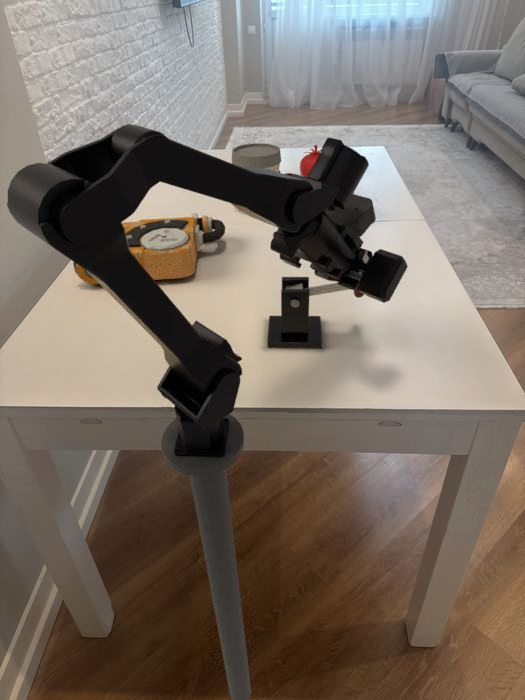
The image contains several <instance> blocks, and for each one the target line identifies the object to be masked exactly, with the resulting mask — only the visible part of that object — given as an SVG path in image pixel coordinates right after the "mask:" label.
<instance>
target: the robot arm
mask: <svg viewBox="0 0 525 700" xmlns="http://www.w3.org/2000/svg"><path fill="white" fill-rule="evenodd" d="M320 150H321V151H320V154H319V156H318V158H317V160H316V161H315V163H314V165H313V167H312V169H311V170H310V172H309V174H308V176H307V177H304V176H303V175H300V174H296V173H291V172H287V173H282V172H280V173H279V172H275V171H272V170H268V169H262V168H254V167H239V166H237V165H234V164H232V162H229V161H226V160H224V159H221V158H220V157H219V158H218V157H216V156H213V155H211V154H209V153H206V152H204V151H201V150H198V149H197V148H196V149H195V148H194V147H191V146H188V145H185V144H183V143H180V142H178V141H175V140H173V139H171V138H169V137H167V136H166V135H165V134H164V133H162V132H160V131H158V130H154V129H153V128H149V127H148V128H147V127H145V126H142V125H138V124H131V123H128V124H124V125H121V126H120V127H117V128H116V129H114V130H112V132H110V133H108V134H106V135H105V136H104V137H102V138H100V139H97V140H94V141H92V142H89V143H86V144H84V145H81V146H79V147H76V148H73V149H70V150H67V151H65V152H63V153H61V154H60V155H58V156H56V157H55V158H53V159H51V160H50V161H48V162H47V163H43V162H37V163H31V164H28V165H26V166H25V167H23V168H22V169H20V170H18V171H17V172H16V174H14V176H13V178H12V179H11V180H10V183H9V185H8V188H7V203H6V207H7V209H8V211H9V214H10V215H11V216H12V217H13V219H14V220H15V221H16V223H18V224H19V225H20V226H21V227H23V228H24V229H26V230H27V231H29V232H30V233H31V234H32V235H34V236H35V237H37V238H38V239H40V240H41V241H42V242H44V243H46V244H47V245H49V246H50V247H51V248H53V249H54V250H56V251H57V252H59V253H60V254H62V255H63V256H64V257H66V258H67V259H69V260H70V261H72V263H73V262H75V263H76V264H78V265H79V266H81V267H82V268H84V269H85V270H87V271H88V272H89V273H90V275H91V276H92V277H93V278H94V279H95V280H96V281H97V282H98V283H99V284H100V285H99V286H101V287H102V288H103V289H104V290H105V291H106V292H107V293H108V294H109V295H110V296H111V297H112V298H113V299H114V300H115V301H116V302H117V303H118V304H119V305H120V306H121V307H122V308H123V309H124V310H125V311H126V312H127V314H129V315H130V316H131V317H132V318H133V319H134V320H135V322H137V324H138V325H140V327H141V328H142V329H144V331H146V333H147V334H149V336H150V337H151V338H152V339H153V340H154V341H155V342H156V343H157V344H158V345H159V346H160V347H161V348H162V350H163V355H164V360H165V361H166V363H167V365H168V366H167V367H168V368H167V369H166V371H165V373H164V374H163V376H162V378H161V379H160V381H159V383H158V385H157V387H156V389H157V391H158V392H159V393H160V394H161V396H162V397H163V398H165V399H166V400H168V401H169V402H170V403H171V404H173V406H174V412H175V416H176V417H175V419H176V418H177V423H178V428H179V432H178V436H177V440H176V444H175V448H174V455H175V456H195V457H223V456H224V455H225V449H226V442H227V436H228V429H229V419H228V418H224V417H226V416H227V415H229V414H230V415H231V414H232V413H233V412H234V410H235V405H236V400H237V398H238V392H239V389H240V384H241V376H242V375H243V368H242V366H241V363H239V362H240V361H242V360H243V357H242V356H240V355H239V354H237V353H236V352H234V350H233V348H232V345H231V344H230V343H229V341H228V340H227V339H226V338H225V337H223V336H222V335H220V334H218V333H217V332H215V331H213V330H212V329H211V328H209V327H207V326H206V325H204V324H202V323H201V322H199V320H195V321H194V322H193V324H191V322H190V321H189V320H188V319H187V318H186V317H185V315H184V314H183V313H182V312H181V310H180V309H179V308H178V307H177V305H176V304H175V303H174V302H173V301H172V300H171V298H170V297H169V296H168V295H167V294H166V293H165V291H164V290H163V289H162V288H161V286H160V285H159V284H158V283H157V282H156V280H154V279H153V278H152V277H151V276H150V275H149V273H148V272H147V271H146V270H145V269H144V268H143V266H142V265H141V264H140V263H139V262H138V260H137V259H136V258H135V257H134V256H133V254H132V253H131V251H130V249H129V245H128V241H127V237H126V232H125V228H124V226H123V225H122V223H124V221H126V220H127V219H129V218H130V217H131V216H132V215H133V214H135V212H136V211H137V210H138V208H139V206H140V205H141V203H142V202H143V200H144V199H145V198H146V196H147V195H148V193H149V191H150V190H151V189H152V188H154V187H155V186H156V185H158V184H159V183H163V184H167V185H168V186H169V185H170V186H173V187H176V188H179V189H183V190H186V191H190V192H192V193H196V194H200V195H203V196H206V197H208V198H213V199H215V200H219V201H222V202H225V203H229V204H231V205H232V206H233V207H235V209H237V210H238V211H240V212H242V213H243V214H245V215H248V216H249V217H250V218H253V219H254V220H258V221H260V222H263V223H265V224H267V225H269V226H273V227H275V228H277V229H276V231H274V232H273V233H272V239H271V241H270V246H269V247H270V248H269V249H270V251H273V252H275V253H277V254H279V259H280V260H281V261H282V262H283V263H285V264H287V265H289V266H291V267H294V268H296V269H301V267H302V263H301V262H300V261H301V260H303V261H306V262H308V263H310V265H309V268H310V269H311V270H313V271H314V276H316V277H318V278H320V279H324V280H326V281H328V282H335V283H337V284H338V285H341V286H343V287H346V288H348V289H349V290H351V291H354V290H355V289H356V288H357V287H358V285H359V289H358V290H359V291H360V292H361V293H363V294H364V296H366V297H368V298H371V299H373V300H376V301H378V302H381V303H384V304H385V303H387V302H389V301H391V299H392V297H393V295H394V293H395V291H396V290H397V288H398V286H399V285H400V282H401V281H402V279H403V276H404V275H405V273H406V271H407V269H408V263H407V261H406V259H405V258H404V257H403V255H400V254H396V253H394V252H391V251H388V250H384V249H381V248H379V249H378V250H376V251H374V253H373V252H372V251H371V250H368V249H364V248H362V246H363V245H364V240H363V239H362V238H361V237H362V236H363V235H364V234H365V233H366V231H367V230H368V229H369V228H370V227H371V225H373V224H375V222H376V213H375V207H374V203H373V200H372V199H371V198H370V197H365V196H362V195H358V194H355V193H354V192H355V191H356V189H357V187H358V186H359V184H360V182H361V180H362V179H363V177H364V175H365V173H366V171H367V170H368V168H369V166H370V164H369V160H368V159H367V157H366V156H364V155H362V154H360V153H359V152H358V151H356V150H355V149H354V148H352V147H349V146H348V145H346V144H344V142H343V140H342V139H338V138H334V137H326V139H325V141H324V143H323V145H322V147H321V149H320ZM225 421H227V422H225ZM178 451H179V452H178ZM220 453H221V454H220Z"/></svg>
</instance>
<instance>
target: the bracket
mask: <svg viewBox="0 0 525 700" xmlns="http://www.w3.org/2000/svg"><path fill="white" fill-rule="evenodd" d="M300 283H302V284H303V288H309V287H310V276H282V277H281V289H280V306H281V307H280V312H281V313H280V315H269V318H268V329H267V341H266V344H267V345H266V346H267V349H323V334H322V321H321V318H322V317H321V315H310V296H309V289H285V287H286V286H288V285H294V284H300Z"/></svg>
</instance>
